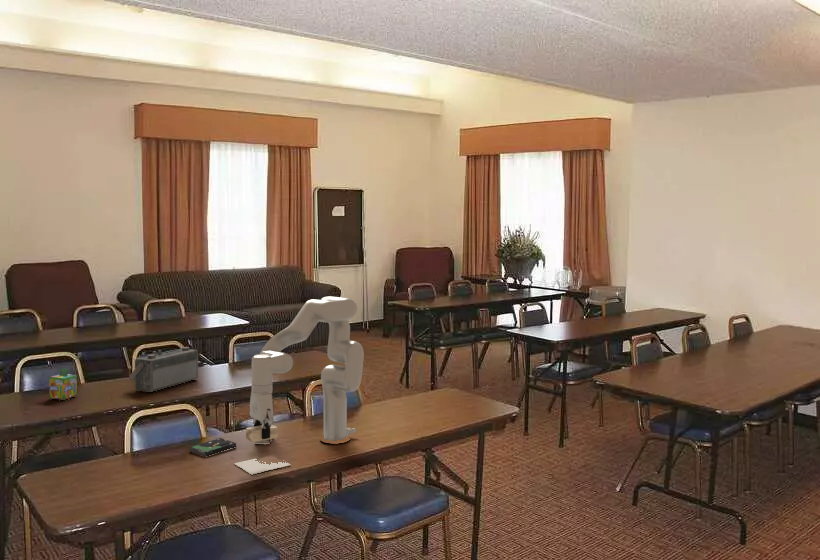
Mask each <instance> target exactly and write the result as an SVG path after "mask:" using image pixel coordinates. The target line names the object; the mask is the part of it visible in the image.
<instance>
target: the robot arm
mask: <svg viewBox="0 0 820 560" xmlns="http://www.w3.org/2000/svg"><path fill="white" fill-rule="evenodd" d="M357 311H358V307H357V303H356V301H355V300H354V299H352V298H349V297H340V296H332V295H331V296H324V297H322V298H321V299H309V300H307V301H306V302H305V303H304V304H303V305H302V307H301V308H300V310H299V311H298V313H297V314H296V316H295V317H294V318H293V320H291V322H290V324H289V325H288V326H287V327H286V328H285V327H284V329H282V330H281V331H279V332H278V333H276V334H275V335H273V336H271V337H270V338H269V340H267V342H266V343H265V345H264V346H263V348H261V350H260V352H259V354H255V355H253V356H252V357H251V392H250V398H249V399H250V400H249V416H250V417H251V418H252V420H253V421H252V424H253V427H255V426H260V425H262V426H263V428H262V439H268V438H270V428H271V424H272V423H273V402H272V401H273V394H272V393H273V374H284V373H287V372H289V371H290V370H291V369H292V368H293V365H294V359H293V358H292V357H293V356H291V355H290V354H288V353H287V352H283V351H282V350H284V349H285V348H287V347H289V346H291V345H295V344H298V343H301V342H305V341H306V340H307V339H308V338H309V336H311V334H312V332H313V331H314V329H315V327H316V326H317V325H318V323H319V322H320V323H321V322H322V323H328V325H329V327H328V328H329V333H328V340H327V341H328V343H327V357H328V359H329V360H330V361H332V362H337V363H342V364H344V365H345V366H344V365H339V364H329V365H326V366H325V367H323V369H322V371H321V373H320V381H321V385H322V391H323V392H322V393H323V395H322V396H323V435H324V439H326V440H331V441H337V440H342V439H344V438H346V436H350V435H351V434H355V433H357V428H355V427H353V428H351V427H347V426H348V425H347V422H348V421H347V415H348V413H347V410H348V409H347V404H348V402H347V401H348V400H347V395H346V394H347V393H346V392H356V391H357V390H358V389H359V387H360V386H361V382H362V377H363V368H364V361H365V359H364V357H365V354H364V353H365V352H364V348H363V346H362V344H361V343H360V342H358V341H356V340H351V339H350V336H351V335H350V334H351V325H350V322H349V320H351V319H353V318H354V317H355V315H356V313H357ZM265 418H267V419H266V420H265ZM261 421H262V423H261ZM265 421H267V422H266V424H265Z"/></svg>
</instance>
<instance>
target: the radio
mask: <svg viewBox="0 0 820 560" xmlns="http://www.w3.org/2000/svg"><path fill="white" fill-rule="evenodd" d="M198 358H199V351H198V350H197V349H196V348H190V347H189V346H183V347H181V348H178V349H174V350H173V349H172V350H171V349H170V350H169V351H168V350H166V351H165V352H162V349H159V350H157V351H156V350H154V351H152V354H147V356H142V357H136V358H135V360H134V369H133V371H132V372H131V373H130V374H129V378H131V381H135V382H134V386H135V387H134V388H135V391H137V390H139V391H138V392H140V391H145V392H144V393H146V392H153V391H156V392H158V391H157V390H160V389H163V390H165V389H164V388H167V387H170V388H172V387H171V386H174V385H177V384H180V383H184V382H187V381H190V380H193V379H196V378H198V379H199V359H198ZM184 384H185V383H184ZM177 386H178V385H177ZM174 387H175V386H174ZM167 389H168V388H167ZM160 391H161V390H160ZM153 393H154V392H153Z"/></svg>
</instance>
